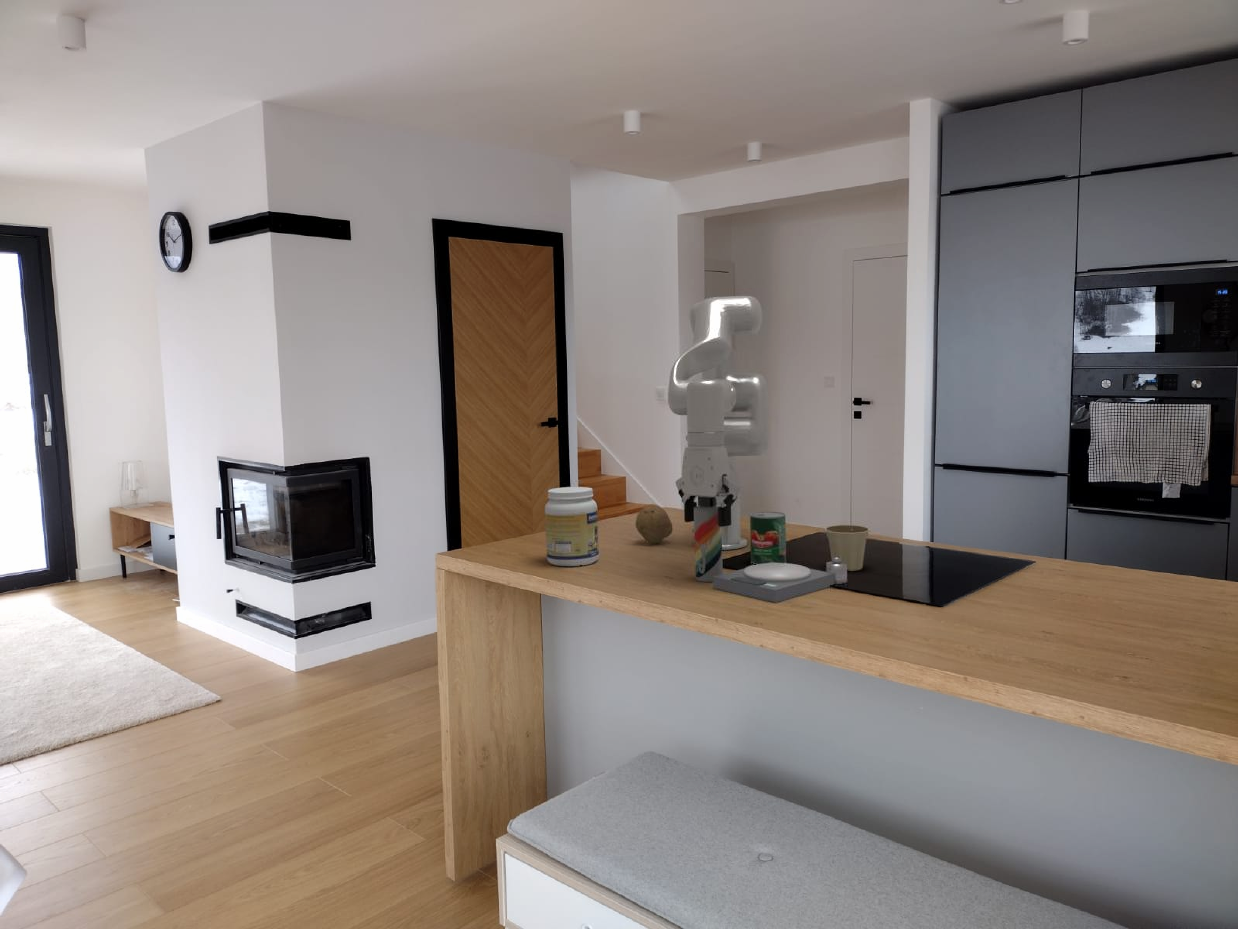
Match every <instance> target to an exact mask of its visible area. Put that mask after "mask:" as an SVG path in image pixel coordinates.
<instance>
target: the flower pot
mask: <svg viewBox="0 0 1238 929" xmlns="http://www.w3.org/2000/svg"><path fill="white" fill-rule="evenodd" d="M824 531H825V532H826V537H827V540H828V544H829V549H830V551H829V552H830V557H831V559H832V557H841V562H845V563H847V571H850V572H854V571H860V570H862V569H863V567H864V557H865V550H866V544H867V539H868V537H869V533H870V532H871V528H869V527H867V526H865V525H864V526H863V525H858V524H857V525H856V524H836V525H834V524H833V525H829V526H826V527H824Z"/></svg>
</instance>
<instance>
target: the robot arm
mask: <svg viewBox="0 0 1238 929" xmlns="http://www.w3.org/2000/svg"><path fill="white" fill-rule="evenodd" d="M689 322H690V326H691V331H692V334H693V338H692V339H693V341H692V342H693V343H692V345H691V346H690V347H688V348H687V349H685V351H683V352H682V354H681V355H680V356H679V357H678V358H677V359H676V360H675V361H674V363H673V365H672V367H671V369H670V372H669V373H670V374H669V382H668V389H667V390H668V391H667V403H668V406H669V409H670V411H671V412H672V413H673V414H675V415H677V416H686V425H687V426H686V427H687V428H686V429H687V430H686V431H687V432H686V433H687V434H686V436H685V440H686V441H687V447H685V448H684V452H683V456H682V457H683V458H682V467H681V477H680V478H678V479H676V481H675V485H676V488H677V490H678V492H677V494H678V495H679V496H680V498H681V503H683V510H684V511H683V514H684V515H683V516H684V518H683V519H684V520H683V521H684V522H685V523H690V522H691V523H692V522H694V507H696V506H698V501H695V500H696V498H698V496H700V497H716V499H717V505H716V506H720V507H718V525H719V527H722V551H725V550H726V551H727V550H728V551H729V550H736V549H743V548H744V547H746V546H747V545H748V540H747V539H746V538H744V537H741V535H742V534H741V496H740V495H741V493H740V491H741V486H740V481H741V480H740V473H739V470H738V468H737V467H736V466H735V464H734V463H733V462H731V460H730V459H729V457H752V456H753V457H754V456H762V455H764V454H765V453H766V452H767V451H768V447H769V441H770V440H769V439H770V438H769V432H770V431H769V429H770V428H769V392H768V385H767V381H766V379H765V377H764V376H763V375H762V374H760V373H755V372H740V373H738V371H737V370H738V368H737V367H738V366H737V362H738V361H737V353H736V351H735V350H734V348H733V347H732V335H754V334H757V333H758V332H759V331H760V329H761V327H762V322H763V311H762V306H761V303H760V301H759V300H758V299H757V298H756V297H754V296H750V295H736V296H735V295H733V296H713V297H708V298H705V299H703V300H702V301H699V302H696V303H695V304H693V305H692V306H691V307H690V309H689ZM700 373H701V378H700V379H690V378H692V377H695V376H696V375H698V374H700ZM728 413H747V414H748V415H749V416H725V415H726V414H728ZM692 533H693V534H694V527H693V528H692Z"/></svg>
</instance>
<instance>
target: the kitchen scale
mask: <svg viewBox="0 0 1238 929" xmlns="http://www.w3.org/2000/svg"><path fill="white" fill-rule="evenodd" d="M833 584H835V573H830V572H826V571H822V570H818V569H813V568H809V567H807V566H803V565H800V564H794V563H787V562H786V563H776V562H769V563H764V564H756V565H754V564H751V565H749V566H746V567H745V568H741V569H738V570H734V571H729V572H725V573H723V574H721V575H717V576H713V582H712V589H714V590H718V589H719V591H724V592H727V593H731V592H732V594H736V595H741V596H745V597H748V598H749V597H750V598H752V599H758V600H762V601H765V602H771V603H775V604H776V603H779V602H783V601H786V600H790V599H793V598H798V597H799V596H803V595H806V594H810V593H813V592H816V591H821V590H824V589H828V588H830V585H833Z"/></svg>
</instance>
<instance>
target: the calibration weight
mask: <svg viewBox="0 0 1238 929" xmlns="http://www.w3.org/2000/svg"><path fill="white" fill-rule="evenodd" d="M825 565H826V567H825V570H826V571H825V572H830V573H835V583H836V584H842V583H846V582H847V583H848V570H847V563H845V562H841V557H832V558H831V561H828V562H826V564H825Z"/></svg>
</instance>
